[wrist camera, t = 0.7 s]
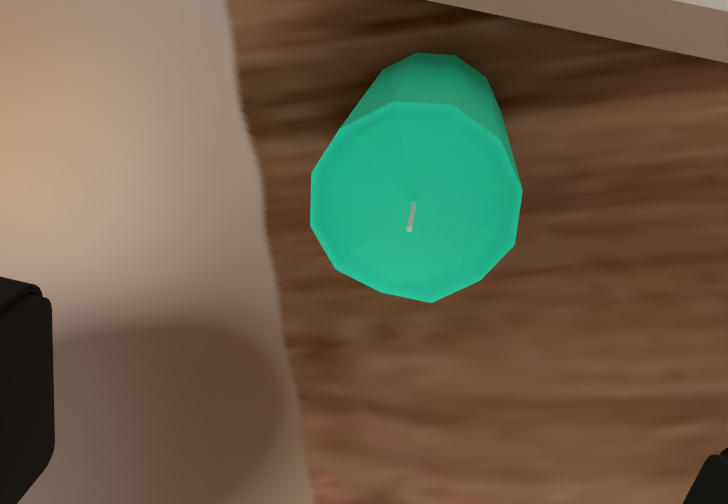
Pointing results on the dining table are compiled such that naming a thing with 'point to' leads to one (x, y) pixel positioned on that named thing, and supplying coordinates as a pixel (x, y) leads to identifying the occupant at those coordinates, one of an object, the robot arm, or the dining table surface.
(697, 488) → the robot arm
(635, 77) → the dining table surface
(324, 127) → the dining table surface
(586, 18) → the jig board
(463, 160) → the candle
